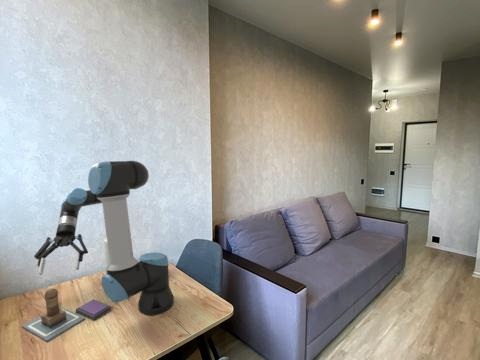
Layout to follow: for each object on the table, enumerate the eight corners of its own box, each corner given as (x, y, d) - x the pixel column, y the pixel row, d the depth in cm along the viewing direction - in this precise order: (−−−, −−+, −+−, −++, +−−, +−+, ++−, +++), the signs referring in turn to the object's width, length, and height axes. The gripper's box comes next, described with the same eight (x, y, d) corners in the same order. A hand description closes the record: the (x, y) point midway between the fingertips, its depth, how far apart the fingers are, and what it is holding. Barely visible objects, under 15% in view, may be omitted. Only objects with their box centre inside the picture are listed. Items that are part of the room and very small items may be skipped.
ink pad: (111, 309, 112) (110, 305, 112) (93, 320, 105) (93, 316, 105) (93, 302, 118) (93, 298, 118) (75, 312, 111) (75, 308, 110)
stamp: (66, 319, 105) (63, 287, 104) (50, 328, 100) (46, 294, 99) (57, 315, 108) (54, 283, 107) (41, 323, 103) (38, 291, 101)
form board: (85, 319, 106) (85, 317, 106) (47, 342, 94) (47, 340, 94) (59, 307, 114) (59, 306, 114) (21, 327, 102) (21, 325, 102)
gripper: (97, 228, 131) (93, 269, 118) (38, 234, 123) (27, 279, 111) (94, 221, 125) (89, 263, 113) (32, 226, 117) (20, 272, 105)
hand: (58, 271), depth 112 cm, fingers open, 13 cm apart
